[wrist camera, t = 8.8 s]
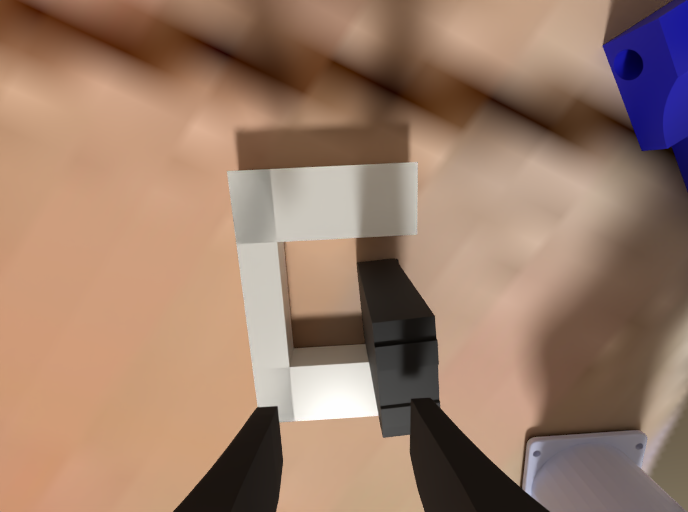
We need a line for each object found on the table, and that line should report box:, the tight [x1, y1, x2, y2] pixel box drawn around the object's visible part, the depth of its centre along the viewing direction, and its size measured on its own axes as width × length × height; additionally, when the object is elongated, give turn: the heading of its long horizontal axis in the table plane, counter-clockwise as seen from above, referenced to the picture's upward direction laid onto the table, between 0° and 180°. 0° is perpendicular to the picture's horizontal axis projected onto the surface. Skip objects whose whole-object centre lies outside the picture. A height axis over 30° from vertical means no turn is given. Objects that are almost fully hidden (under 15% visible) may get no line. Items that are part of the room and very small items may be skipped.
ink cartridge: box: [357, 259, 440, 438], centre depth 15 cm, size 5×2×8 cm, turn 6°
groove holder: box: [227, 162, 418, 422], centre depth 18 cm, size 14×9×2 cm, turn 3°
